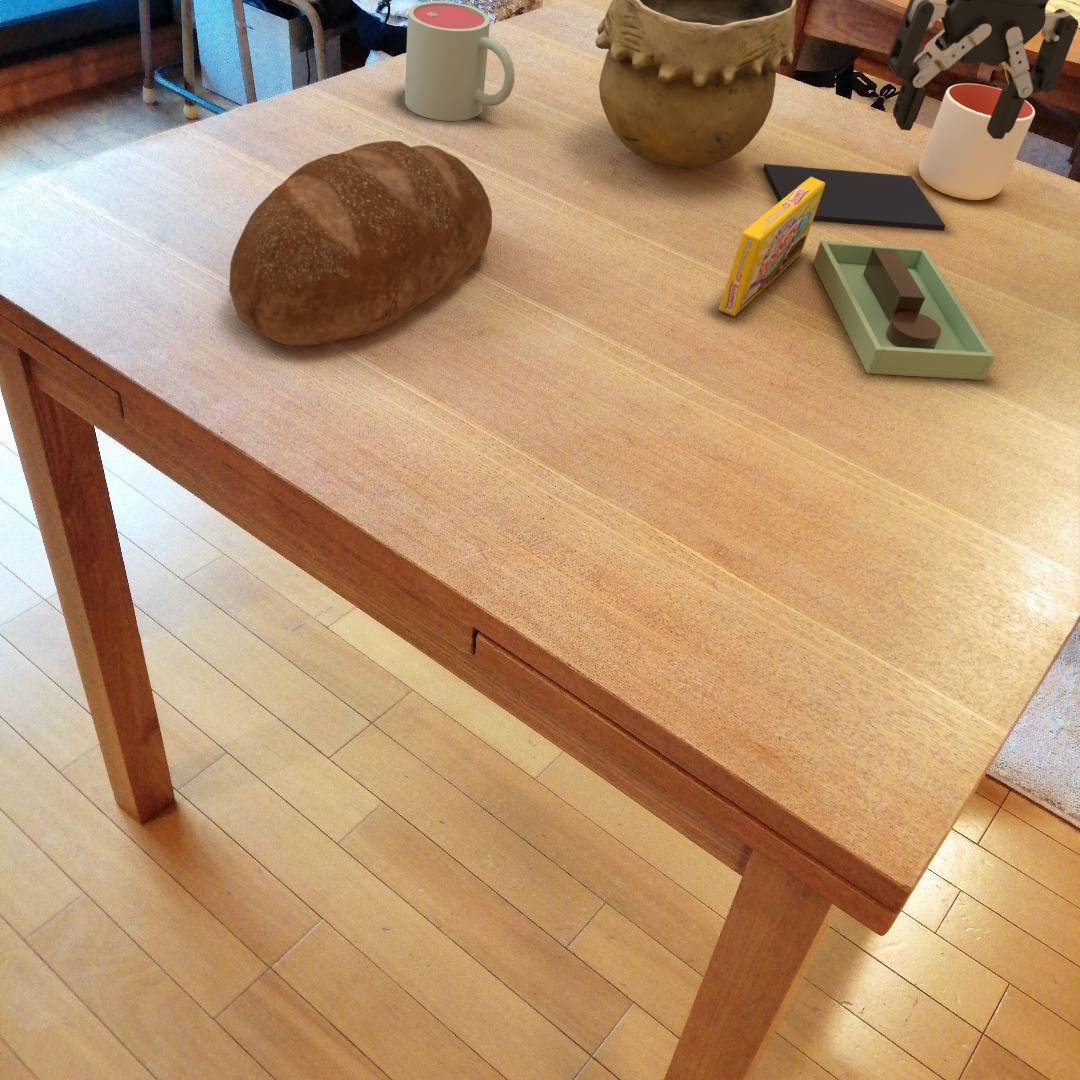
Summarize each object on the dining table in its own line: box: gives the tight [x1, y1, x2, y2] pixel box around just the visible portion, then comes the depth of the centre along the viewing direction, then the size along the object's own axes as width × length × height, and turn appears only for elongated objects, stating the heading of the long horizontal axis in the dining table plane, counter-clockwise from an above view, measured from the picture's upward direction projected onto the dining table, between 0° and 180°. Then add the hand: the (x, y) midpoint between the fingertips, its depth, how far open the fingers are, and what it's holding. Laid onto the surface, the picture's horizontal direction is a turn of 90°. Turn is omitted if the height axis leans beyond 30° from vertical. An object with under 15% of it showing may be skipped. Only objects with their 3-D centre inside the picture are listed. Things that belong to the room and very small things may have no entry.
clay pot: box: [595, 0, 797, 170], centre depth 118 cm, size 21×21×20 cm
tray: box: [812, 240, 996, 381], centre depth 104 cm, size 11×19×3 cm, turn 4°
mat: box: [762, 163, 946, 231], centre depth 123 cm, size 18×12×1 cm, turn 94°
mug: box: [404, 0, 515, 122], centre depth 125 cm, size 14×9×10 cm
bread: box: [228, 140, 493, 347], centre depth 95 cm, size 16×29×11 cm, turn 149°
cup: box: [918, 83, 1036, 201], centre depth 126 cm, size 10×10×10 cm
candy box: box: [718, 177, 825, 317], centre depth 104 cm, size 16×2×8 cm, turn 147°
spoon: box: [863, 248, 941, 349], centre depth 104 cm, size 5×14×3 cm, turn 4°
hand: (948, 131), depth 95 cm, fingers open, 8 cm apart
